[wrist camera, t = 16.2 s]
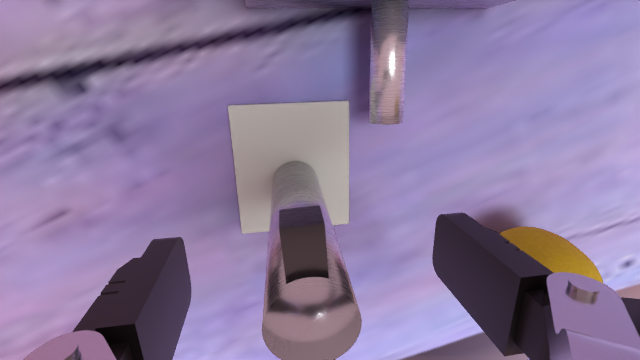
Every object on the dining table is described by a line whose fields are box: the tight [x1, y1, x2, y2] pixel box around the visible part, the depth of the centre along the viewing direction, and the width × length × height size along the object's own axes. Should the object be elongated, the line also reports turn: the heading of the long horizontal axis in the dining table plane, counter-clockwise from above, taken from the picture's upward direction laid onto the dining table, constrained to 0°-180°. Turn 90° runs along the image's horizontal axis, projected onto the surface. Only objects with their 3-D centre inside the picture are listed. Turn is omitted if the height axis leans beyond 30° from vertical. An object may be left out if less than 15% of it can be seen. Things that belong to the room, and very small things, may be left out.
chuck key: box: [262, 161, 361, 360], centre depth 15 cm, size 3×6×12 cm, turn 4°
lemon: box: [500, 227, 603, 283], centre depth 21 cm, size 6×6×8 cm
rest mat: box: [228, 100, 349, 234], centre depth 21 cm, size 8×7×1 cm
